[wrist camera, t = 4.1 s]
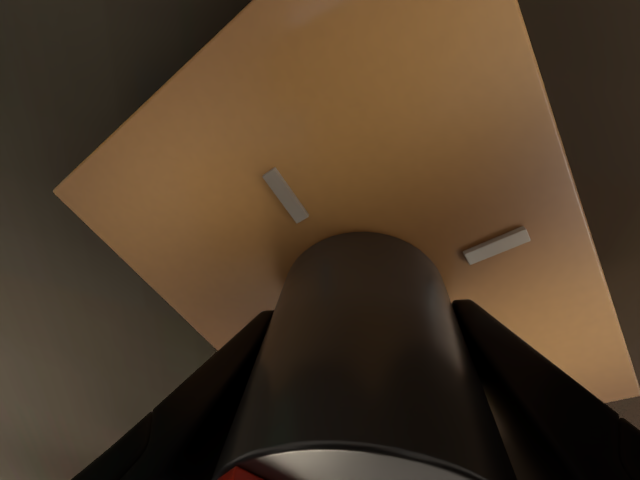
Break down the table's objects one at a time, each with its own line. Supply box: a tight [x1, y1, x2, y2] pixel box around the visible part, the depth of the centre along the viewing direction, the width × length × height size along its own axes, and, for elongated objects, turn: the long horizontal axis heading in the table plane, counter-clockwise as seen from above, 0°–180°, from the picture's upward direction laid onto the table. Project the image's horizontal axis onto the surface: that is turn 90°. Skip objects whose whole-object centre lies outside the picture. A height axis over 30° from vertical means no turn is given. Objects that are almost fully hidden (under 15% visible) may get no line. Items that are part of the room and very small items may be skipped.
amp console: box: [53, 0, 640, 403], centre depth 10 cm, size 14×11×4 cm
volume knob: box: [211, 232, 517, 480], centre depth 6 cm, size 4×4×5 cm
